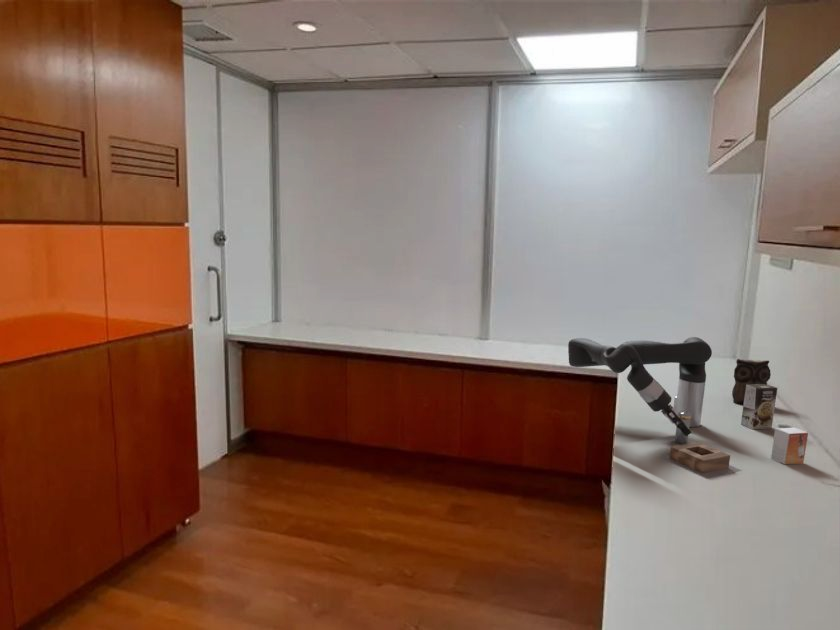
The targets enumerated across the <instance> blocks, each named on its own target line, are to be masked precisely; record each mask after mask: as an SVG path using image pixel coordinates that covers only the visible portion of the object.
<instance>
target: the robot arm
mask: <svg viewBox="0 0 840 630" xmlns="http://www.w3.org/2000/svg"><path fill="white" fill-rule="evenodd" d="M567 344H568V345H567V347H568V354H567V355H568V364H569V365H570V366H571V367H574V368H587V367H589V368H590V367H599V366H606V367H608V368H609V369H610V370H611V372H613V373H616V374H620V373H621V374H622V373H623V372H625V371H626V370H627V369H628V368H629V367H631V368H630V371H629V373H628V374H627V377H626V380H627V382H628V383H629V384H630V385H631V386H632V387H633V389H635V391H636V392H637V393H638V395H639V396H640V398H641V399H642V400H643V401H644V402H645V403H646V404H647V406H648V407H649V408H650V409H651V410H652V411H653V412H655V413H656V412H659V411H660V412H661V414H662V415H664V417H665V418H667V419H668V421H670V423H671V424H674V425H675V427H676V426H677V428H679V429H680V430H681V431H682V432H683V433H684V434H685V436H688V437H689V435H690V434H692V431H691V430H690V428H696V427H698V428H699V427H700V426H701V424H702V423H701V422H702V414H703V405H704V398H705V390H706V389H705V387H706V382H707V381H706V380H707V373H706V363H707V362H708V361H709V360H710V359H711V358H712V354H713V352H712V348H711V347H710V345H709V344H708V343H707V342H706V341H705V340H703V339H702V338H700V337H696V336H691V337H688V338H686V339H685V340H684V341H683V342H677V343H676V342H675V343H666V342H661V341H653V340H629V341H625V342H623V343H621V344H619V345H618V346H617V347H614V346H610V345H604V344H601V343H599V342H596V341H594V340H592V339H589V338H583V337H582V338H581V337H579V338H572V339H570V340H569V341H568V343H567ZM668 363H669V364H675V363H676V364H678V372H679V376H678V385H677V393H676V396H674V400H673V406H672V404H671V403H672V396H671V394H669V392H668V391H666V389H665V388H664V387H663V386H662V385H661V383H660V382H658V381H657V379H655V378H654V377H653V376H652V374H650V373H649V371H648V370H647V369H646V367H645V366H646V365H658V364H659V365H660V364H668ZM679 411H685V412H689V413H691V419H690V425H689V429H688V428H687V427H686V425H685V424H684V422H682V420H681V419H680V418H681V417H680V416H679V415H678V414H677V413H678V412H679ZM678 420H680V421H681V422H680V423H679V424H678V425H677V421H678Z"/></svg>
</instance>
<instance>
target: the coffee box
mask: <svg viewBox="0 0 840 630" xmlns="http://www.w3.org/2000/svg"><path fill="white" fill-rule="evenodd" d="M777 393H778V387H776V386H773V385H770V384H767V385H766V384H746V391H745V398H744V405H742V414H741V420H740V425H741V426H744V427H747V428H749V429H752V430H766V429H767V430H768V429H772V428H773V422H774V415H775V409H776V401H777Z"/></svg>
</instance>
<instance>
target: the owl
mask: <svg viewBox="0 0 840 630" xmlns="http://www.w3.org/2000/svg"><path fill="white" fill-rule="evenodd" d="M735 361H736V362H735V363H736V366H735V368H734V370H733V378H734V386H733V388H732V391H731V392H732V393H731V395H732V399H733V404H736V405H741V406H743V405H744V398H745V391H746V384H766V385H768V383H767V382H768V381H769V380H770V379H771V369H770V366H769V363H770V360H761V359H759V360H758V359H740V358H737V359H736V360H735Z"/></svg>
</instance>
